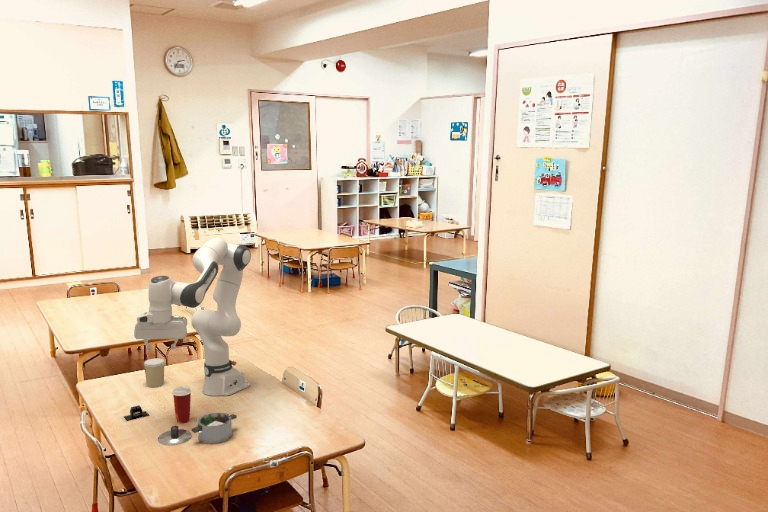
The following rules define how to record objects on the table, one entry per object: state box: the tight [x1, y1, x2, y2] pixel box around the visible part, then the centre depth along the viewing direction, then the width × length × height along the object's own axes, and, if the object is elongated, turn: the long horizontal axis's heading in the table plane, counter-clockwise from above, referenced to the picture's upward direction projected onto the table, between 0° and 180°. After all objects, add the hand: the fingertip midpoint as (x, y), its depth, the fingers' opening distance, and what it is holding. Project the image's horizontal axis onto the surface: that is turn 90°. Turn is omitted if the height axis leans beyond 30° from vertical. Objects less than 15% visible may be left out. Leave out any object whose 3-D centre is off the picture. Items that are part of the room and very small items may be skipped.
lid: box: [157, 425, 193, 446], centre depth 236 cm, size 13×13×5 cm
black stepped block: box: [123, 405, 150, 422], centre depth 255 cm, size 12×7×5 cm, turn 128°
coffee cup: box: [143, 357, 166, 389], centre depth 288 cm, size 9×9×12 cm
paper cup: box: [171, 385, 192, 424], centre depth 251 cm, size 8×8×14 cm
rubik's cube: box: [207, 421, 224, 426], centre depth 239 cm, size 5×5×5 cm
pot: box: [191, 412, 238, 445], centre depth 238 cm, size 19×13×7 cm
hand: (161, 349), depth 242 cm, fingers open, 8 cm apart
